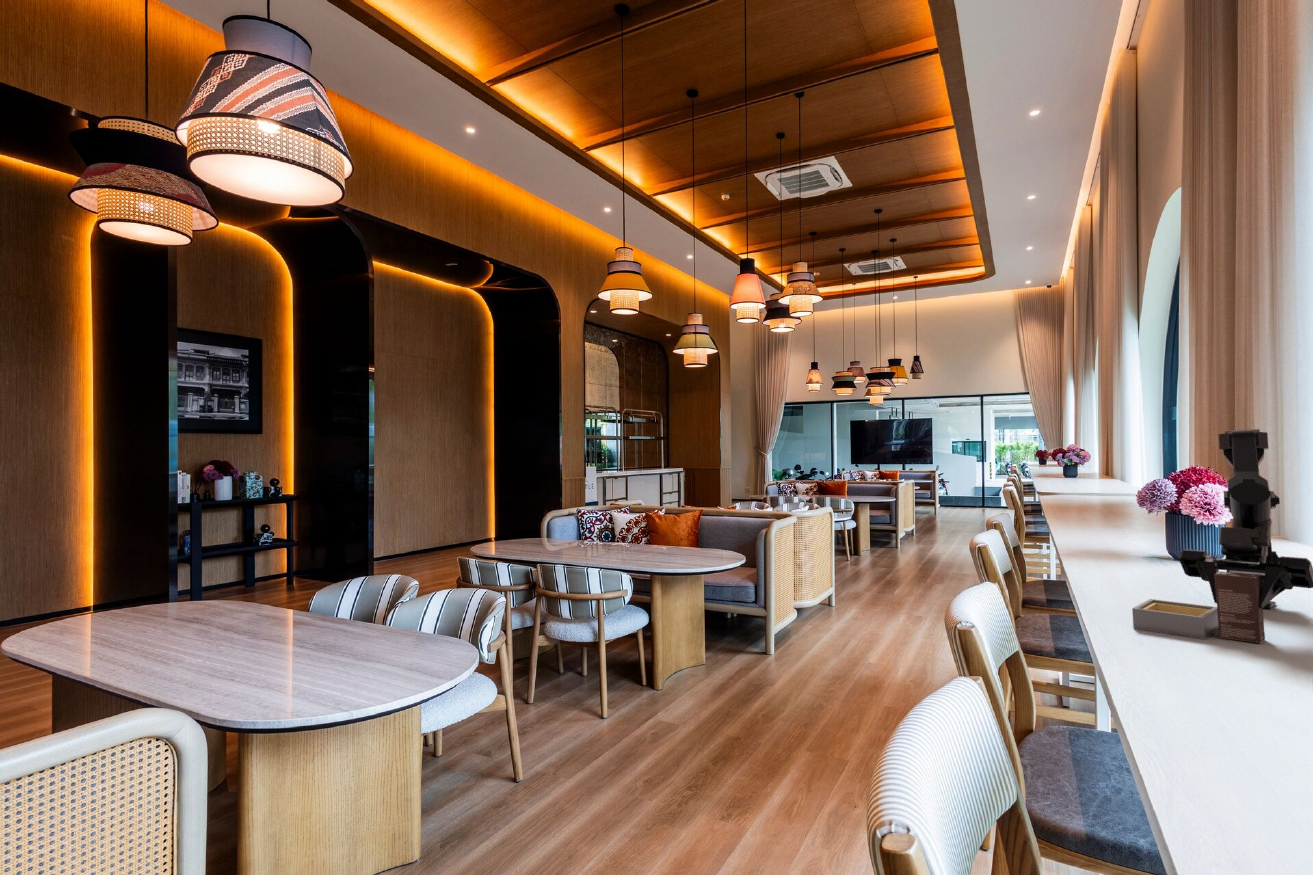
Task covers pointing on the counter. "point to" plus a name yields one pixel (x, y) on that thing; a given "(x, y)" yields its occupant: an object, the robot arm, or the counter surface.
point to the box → (1239, 606)
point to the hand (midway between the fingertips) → (1237, 604)
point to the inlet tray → (1176, 618)
